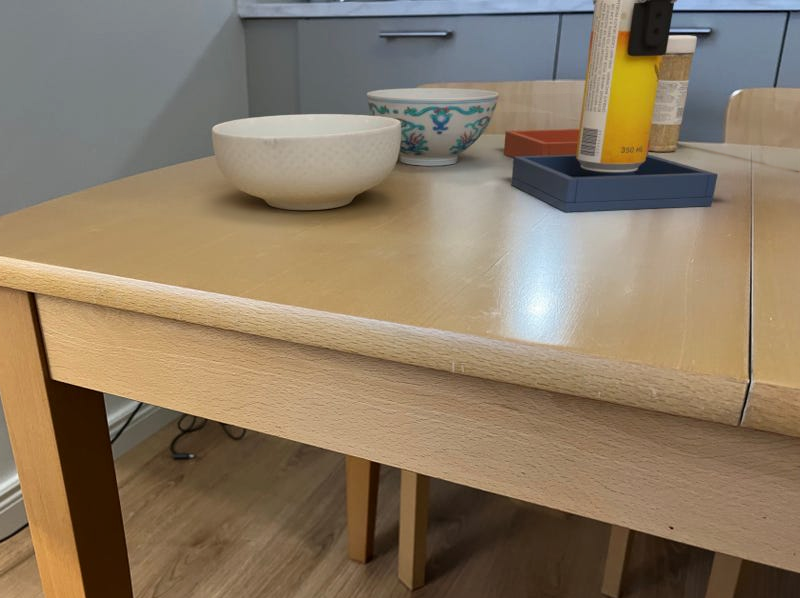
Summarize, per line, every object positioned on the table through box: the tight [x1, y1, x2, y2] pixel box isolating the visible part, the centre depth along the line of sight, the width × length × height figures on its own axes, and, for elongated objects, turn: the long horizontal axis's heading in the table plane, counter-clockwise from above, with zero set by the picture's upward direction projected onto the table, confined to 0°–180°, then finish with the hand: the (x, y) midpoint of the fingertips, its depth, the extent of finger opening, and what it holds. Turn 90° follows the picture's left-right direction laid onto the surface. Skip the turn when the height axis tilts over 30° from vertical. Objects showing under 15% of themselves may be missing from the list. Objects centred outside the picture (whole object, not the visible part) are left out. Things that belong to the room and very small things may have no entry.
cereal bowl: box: [211, 113, 401, 211], centre depth 68 cm, size 17×17×7 cm
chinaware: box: [366, 87, 499, 167], centre depth 88 cm, size 15×15×8 cm
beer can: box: [576, 0, 672, 172], centre depth 67 cm, size 6×6×15 cm
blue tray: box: [510, 153, 718, 213], centre depth 70 cm, size 14×13×3 cm
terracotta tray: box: [503, 128, 650, 159], centre depth 89 cm, size 13×12×3 cm
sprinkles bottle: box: [648, 34, 698, 153], centre depth 93 cm, size 5×5×14 cm
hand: (625, 52), depth 66 cm, fingers closed on beer can, 6 cm apart
